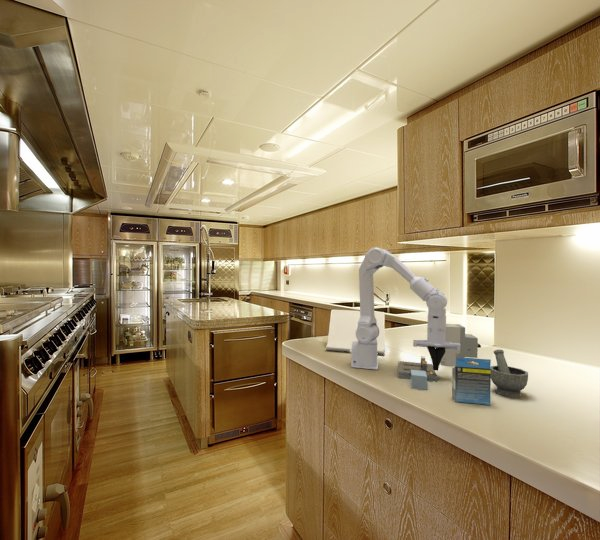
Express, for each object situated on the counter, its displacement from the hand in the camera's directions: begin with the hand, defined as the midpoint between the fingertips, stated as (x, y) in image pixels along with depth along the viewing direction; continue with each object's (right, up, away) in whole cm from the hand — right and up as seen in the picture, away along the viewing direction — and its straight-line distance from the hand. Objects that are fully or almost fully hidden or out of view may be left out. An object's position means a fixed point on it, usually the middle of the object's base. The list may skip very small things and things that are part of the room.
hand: (435, 369), depth 109 cm
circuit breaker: (+17, -4, +18) cm, 25 cm away
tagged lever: (-3, -1, +1) cm, 4 cm away
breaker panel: (-5, -3, +5) cm, 7 cm away
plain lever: (-2, -1, +7) cm, 7 cm away
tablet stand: (-20, -3, +39) cm, 44 cm away
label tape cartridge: (+2, -3, -19) cm, 20 cm away
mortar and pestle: (+16, -3, -12) cm, 20 cm away
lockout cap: (-9, -3, -8) cm, 12 cm away
